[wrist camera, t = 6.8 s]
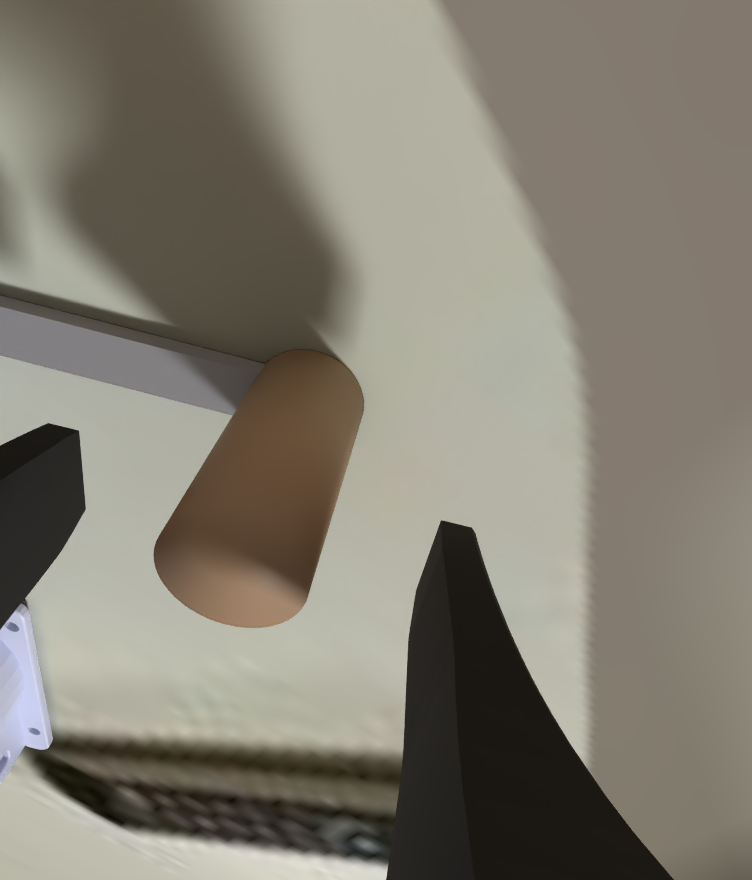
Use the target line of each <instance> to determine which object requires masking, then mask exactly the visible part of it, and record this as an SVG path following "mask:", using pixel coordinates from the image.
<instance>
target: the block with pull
mask: <svg viewBox="0 0 752 880" xmlns="http://www.w3.org/2000/svg"><path fill="white" fill-rule="evenodd" d="M0 355H1V356H5V357H9V358H13V359H17V360H21V361H24V362H28V363H32V364H36V365H40V366H44V367H48V368H51V369H55V370H59V371H63V372H67V373H71V374H75V375H78V376H82V377H86V378H90V379H94V380H98V381H102V382H106V383H109V384H113V385H117V386H121V387H125V388H129V389H133V390H136V391H140V392H144V393H148V394H152V395H156V396H160V397H164V398H167V399H171V400H175V401H179V402H183V403H187V404H191V405H194V406H198V407H202V408H206V409H210V410H214V411H218V412H222V413H225V414H229V415H233V416H232V418H231V419H230V421H229V423H228V424H227V426H226V428H225V429H224V431H223V433H222V434H221V436H220V437H219V439H218V441H217V442H216V444H215V446H214V447H213V449H212V450H211V452H210V454H209V455H208V457H207V459H206V460H205V462H204V464H203V465H202V467H201V468H200V470H199V472H198V473H197V475H196V477H195V478H194V480H193V481H192V483H191V485H190V486H189V488H188V490H187V491H186V493H185V495H184V496H183V498H182V499H181V501H180V503H179V504H178V506H177V508H176V509H175V511H174V512H173V514H172V516H171V517H170V519H169V521H168V522H167V524H166V526H165V527H164V529H163V530H162V532H161V534H160V535H159V537H158V539H157V541H156V544H155V547H154V563H155V567H156V570H157V572H158V575H159V577H160V579H161V580H162V582H163V584H164V585H165V586H166V588H167V589H168V590H169V591H170V592H171V593H172V594H173V595H174V597H176V598H177V599H178V600H179V601H180V602H181V603H183V604H184V605H185V606H187V607H188V608H190V609H191V610H193V611H195V612H196V613H198V614H200V615H202V616H204V617H206V618H209V619H211V620H214V621H216V622H220V623H223V624H226V625H231V626H236V627H244V628H261V627H268V626H273V625H277V624H280V623H282V622H285V621H287V620H289V619H290V618H292V617H293V616H295V615H296V614H297V613H298V612H299V611H300V610H301V609H302V608H303V606H304V604H305V602H306V600H307V597H308V594H309V591H310V588H311V584H312V581H313V578H314V574H315V571H316V568H317V564H318V561H319V558H320V554H321V551H322V548H323V545H324V541H325V538H326V535H327V531H328V528H329V525H330V521H331V518H332V515H333V511H334V508H335V505H336V501H337V498H338V495H339V492H340V488H341V485H342V482H343V478H344V475H345V472H346V468H347V465H348V462H349V458H350V455H351V452H352V449H353V445H354V442H355V439H356V435H357V432H358V429H359V425H360V422H361V419H362V415H363V411H364V398H363V393H362V390H361V387H360V385H359V383H358V381H357V380H356V378H355V376H354V375H353V374H352V373H351V371H350V370H349V369H348V368H347V367H346V366H344V365H343V364H342V363H341V362H339V361H338V360H336V359H334V358H333V357H331V356H328V355H326V354H324V353H321V352H317V351H312V350H291V351H287V352H284V353H281V354H279V355H277V356H275V357H273V358H272V359H270V360H269V361H268V362H267V363H266V364H264V363H260V362H256V361H252V360H248V359H244V358H241V357H237V356H233V355H229V354H225V353H221V352H217V351H213V350H210V349H206V348H202V347H198V346H194V345H190V344H186V343H183V342H179V341H175V340H171V339H167V338H163V337H159V336H156V335H152V334H148V333H144V332H140V331H136V330H132V329H129V328H125V327H121V326H117V325H113V324H109V323H105V322H101V321H98V320H94V319H90V318H86V317H82V316H78V315H74V314H71V313H67V312H63V311H59V310H55V309H51V308H47V307H44V306H40V305H36V304H32V303H28V302H24V301H20V300H17V299H13V298H9V297H5V296H1V295H0Z"/></svg>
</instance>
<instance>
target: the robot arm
mask: <svg viewBox="0 0 752 880" xmlns="http://www.w3.org/2000/svg"><path fill="white" fill-rule="evenodd" d="M85 509H86V507H85V495H84V484H83V472H82V460H81V449H80V437H79V431H78V430H74V429H70V428H66V427H62V426H58V425H53V424H49V423H48V424H46V425H43V426H41V427H39V428H36V429H34V430H32V431H30V432H28V433H26V434H23V435H21V436H19V437H17V438H15V439H13V440H11V441H9V442H7V443H5V444H3V445H1V446H0V785H1V784H2V782H3V780H4V779H5V777H6V775H7V774H8V772H9V771H10V769H11V767H12V766H13V764H14V763H15V761H16V759H17V758H18V756H19V754H20V753H21V751H22V750H23V748H24V746H28V747H32V748H36V749H41V750H44V749H47V748H49V746H50V744H51V742H52V740H53V737H52V732H51V726H50V721H49V715H48V710H47V705H46V699H45V694H44V688H43V683H42V677H41V672H40V667H39V661H38V656H37V650H36V645H35V639H34V634H33V629H32V623H31V618H30V613H29V611H28V609H27V608H26V607H25V606H24V605H23V604H21V603H22V601H23V600H24V599H25V598H26V596H27V595H28V594H29V593H30V591H31V590H32V589H33V588H34V586H35V585H36V584H37V582H38V581H39V580H40V578H41V577H42V576H43V575H44V573H45V572H46V571H47V569H48V568H49V567H50V566H51V564H52V563H53V562H54V560H55V559H56V558H57V556H58V555H59V554H60V552H61V551H62V549H63V547H64V546H65V544H66V542H67V541H68V539H69V537H70V536H71V534H72V532H73V531H74V529H75V527H76V525H77V523H78V522H79V520H80V518H81V516H82V515H83V513H84V511H85ZM386 880H674V879H673V878H672V877H671V876H670V875H669V874H668V872H667V871H666V870H665V869H664V868H663V867H662V865H661V864H660V863H659V862H658V861H657V859H656V858H655V857H654V856H653V855H652V854H651V853H650V851H649V850H648V849H647V848H646V846H645V845H644V844H643V843H642V842H641V841H640V839H639V838H638V837H637V836H636V835H635V833H634V832H633V831H632V830H631V828H630V827H629V826H628V824H626V822H625V821H624V819H623V818H622V817H621V815H620V814H619V813H618V811H617V810H616V809H615V807H614V806H613V805H612V804H611V802H610V801H609V800H608V798H607V797H606V796H605V794H604V793H603V791H602V790H601V788H600V787H599V785H598V784H597V782H596V781H595V780H594V778H593V777H592V775H591V774H590V772H589V771H588V769H587V768H586V766H585V765H584V764H583V762H582V761H581V759H580V758H579V756H578V755H577V753H576V752H575V750H574V749H573V747H572V746H571V744H570V743H569V741H568V740H567V738H566V736H565V735H564V733H563V731H562V730H561V728H560V727H559V725H558V723H557V722H556V720H555V718H554V717H553V715H552V713H551V712H550V710H549V708H548V706H547V704H546V703H545V701H544V699H543V697H542V696H541V694H540V692H539V690H538V688H537V686H536V685H535V683H534V681H533V679H532V677H531V675H530V673H529V671H528V669H527V667H526V665H525V663H524V661H523V659H522V657H521V654H520V652H519V650H518V648H517V646H516V644H515V642H514V639H513V637H512V635H511V633H510V630H509V628H508V626H507V623H506V621H505V618H504V616H503V613H502V611H501V608H500V606H499V603H498V601H497V598H496V596H495V593H494V590H493V588H492V585H491V582H490V579H489V576H488V573H487V571H486V568H485V565H484V561H483V558H482V555H481V552H480V548H479V545H478V541H477V538H476V534H475V532H474V530H473V529H472V528H471V527H467V526H462V525H458V524H454V523H450V522H446V521H442V520H441V522H440V525H439V528H438V531H437V533H436V536H435V539H434V542H433V545H432V547H431V550H430V553H429V556H428V559H427V562H426V564H425V567H424V570H423V573H422V576H421V578H420V581H419V584H418V587H417V590H416V595H415V601H414V607H413V613H412V620H411V626H410V633H409V641H408V661H407V683H406V706H405V729H404V750H403V762H402V773H401V780H400V788H399V795H398V802H397V809H396V817H395V824H394V831H393V838H392V844H391V851H390V858H389V865H388V872H387V879H386Z"/></svg>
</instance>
